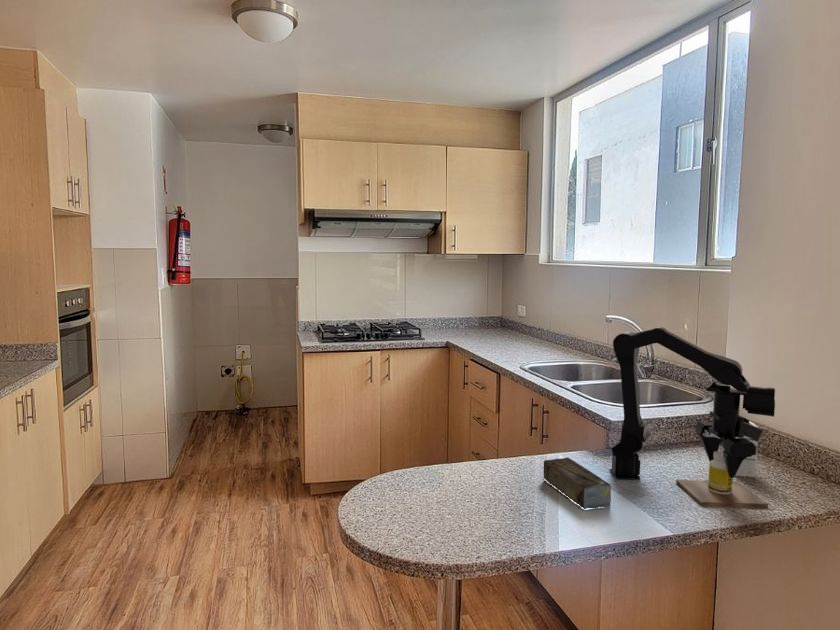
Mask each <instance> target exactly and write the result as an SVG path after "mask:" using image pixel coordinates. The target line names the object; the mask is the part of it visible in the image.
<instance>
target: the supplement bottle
mask: <svg viewBox="0 0 840 630" xmlns="http://www.w3.org/2000/svg"><path fill="white" fill-rule="evenodd" d="M713 458H714V459H713V460H711V461H709V466H708V467H709V468H708V479H707V481H708V489H709V490H710V491H711V492H714V493H717V494H722V495H728V494H731V492H732V481H733V479H734V478H730V477H729V475H728V472H727V468H726V464H725V460H724V456H723V451H722V450H721V451H720V450H718V451H715V452H714V454H713Z"/></svg>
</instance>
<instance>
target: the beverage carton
mask: <svg viewBox="0 0 840 630" xmlns="http://www.w3.org/2000/svg"><path fill="white" fill-rule="evenodd" d="M544 478H545V479H546V480H547V481H548V482H549V483H550V484H552V485H553V486H555V487H556V488H557V489H558V490H560V491H561V492H562V493H564V494H565V495H566V496H568V497H569V498H570V499H572V500H573V501H574V502H576V503H577V504H579V505H580V506H581V507H583V508H584V509H586V508H598V507H608V508H610V507H611V501H612V492H611V491H612V485H611V484H610V483H609V482H607V481H605V480H604V479H603V478H601V476H598V475H597V474H595V473H593V472H591V471H590V470H589V469H588V468H585V467H584V466H583V465H581V464H579V463H578V462H576V461H575V460H573V459H572V458H570V457H563V458H554V459H545V460H544V461H543V479H544ZM609 506H610V507H609Z"/></svg>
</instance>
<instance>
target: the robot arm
mask: <svg viewBox="0 0 840 630" xmlns="http://www.w3.org/2000/svg"><path fill="white" fill-rule="evenodd" d="M612 341H613V342H612V347H613V351H614V354H615V358H616V360H617V362H618V365H619V369H620V380H621V381H620V382H621V391H622V393H621V394H622V407H623V423H622V427H621V431H620V439H619V440H618V441H616V443H615V444H614V445H613V447H611V452H612V453H611V455H612V457H611V468H609V470H608V471H609V472H610V473H611V475H613V476H614V478H615V479H617V480H641V477H640V475H641V462H642V461H641V460H640V456H639V454H638V453H637V452H640V451H641V450H642V449H643V448H644V446H645V445H646V443H647V441H648V440H649V438H650V436H651V435H650V433H649V421H643V418H642V416H641V410H640V409H641V404H640V395H639V393H640V392H639V382H638V370H637V368H638V367H637V365H638V359H639V354H640V348H643V347H647V346H649V345H654V344H658V345H660V346H662V347H664V348H666V349H668V350H669V351H671V352H674V353H675V354H677V355H679V356H681V357H683V358H685V359H686V360H687V361H690V362H692V363H694V364H695V365H697V366H699V367H701V368H702V369H703V370H704V371H705V372H706V373H707V374H708V375H709V376H711V377H712V378H713V379H715V380H713V381H712V383H711V384H709V385H707V386H706V388H705V390H706V391H707V392H711V393H712V392H714V394H713V395H714V396H713V409H712V411H709V414H708V415H709V416H710V417H712V421H698V422H697V423H696V424H695V430H694V431H695V433H696V434H697V437H698V439H700V442H701V445H702V447H703V448H704V451H705V453H706V457H707V458H708V461H709V462H710V461H711V460H713V459H714V458H713V454H714V452H715V451H719V448H720V444H721V443H722V447H723V449H724V450H721V451H722V452H723V456H724V460H725V464H726V468H727V472H728V475H729V477H730V478H733V479H734V478H735V477H736V476H735V475H736V473H737V471H738V469H739V467H740V465H741V463H742V461H743V460H744V459H745V458H747V457H751V456H752V455H756V452H757V453H758V445H757V446H756V445H755V444H754V443H752V442H750V441H749V440H747V439H737V438H736V437H738V438H744V436H746V437H749V438H752V439H754V440H755V441H757V442H759V440H760V438H761V436H762V434H763V432H764V430H763V429H762V428H760V427H759V426H758V427H756V426H757V425H756V426H753V425H751V424H749V421H750V419H749V418H746V417H745V416H741V415H740V406H741V405H740V404H741V396H743V397H742V409H744V411H746V412H747V414H752V415H758V416H767V417H773V418H774V417H775V411H776V410H775V409H776V399H775V398H776V397H775V395H776V388H774V387H761V386H751V384H750V383H749V381H748V380H747V379H746V377H745V376H744V375H743V367H742V365H741V364H740V362H738V361H737V360H734V359H732V358H729V357H726V356H724V355H719V354H716V353H713V352H709V351H708V350H705V349H703V348H701V347H699V346H697V345H695V344H693V343H692V342H690V341H688V340H685V339H684V338H682V337H680V336H679V335H676V334H675V333H673V332H670V331H669V330H667V329H666V328H665V327H662V326H657V327H653V328H652V329H648V330H642V331H639V332H634V331H624V332H622V333H618V335H616V336H615V337H614V338H613V340H612ZM717 382H718V383H717ZM719 383H720V384H719ZM733 388H734V389H733Z"/></svg>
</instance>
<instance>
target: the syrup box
mask: <svg viewBox="0 0 840 630" xmlns="http://www.w3.org/2000/svg"><path fill="white" fill-rule="evenodd" d="M749 424H751V425H753V426H756V427H758V428H759V426H757V424H755V423H753V421H750V420H749ZM736 438H737V439H747V440H749V441H750V442H752V443H754V444H755V445H756V446H757V447H758V442H759V441H758V442H757V441H755V440H754V439H752V438H749V437H746V436H744V438H738V437H736ZM757 457H758V451H757V452H756V455H752V456H751V457H747V458H745V459H744V460H743V461H742V463H741V465H740V467H739V469H738V471H737V473H736V475H735V477H742V476H748V477H747V478H756V477H757V475H756V474H757V473H756V472H757V461H758V460H757V459H758V458H757Z"/></svg>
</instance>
